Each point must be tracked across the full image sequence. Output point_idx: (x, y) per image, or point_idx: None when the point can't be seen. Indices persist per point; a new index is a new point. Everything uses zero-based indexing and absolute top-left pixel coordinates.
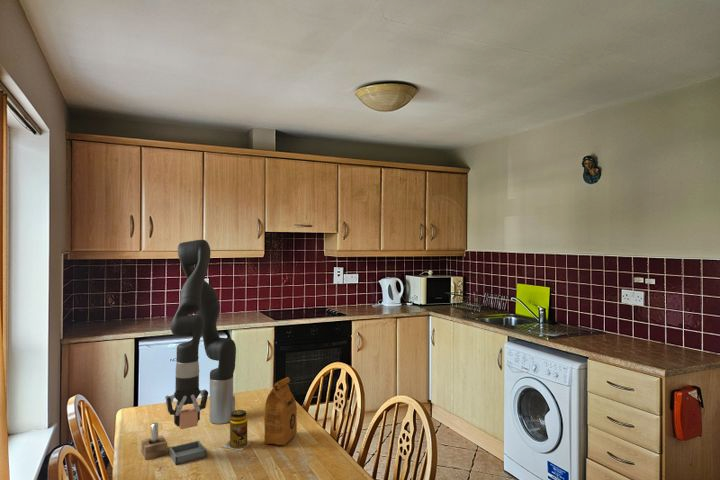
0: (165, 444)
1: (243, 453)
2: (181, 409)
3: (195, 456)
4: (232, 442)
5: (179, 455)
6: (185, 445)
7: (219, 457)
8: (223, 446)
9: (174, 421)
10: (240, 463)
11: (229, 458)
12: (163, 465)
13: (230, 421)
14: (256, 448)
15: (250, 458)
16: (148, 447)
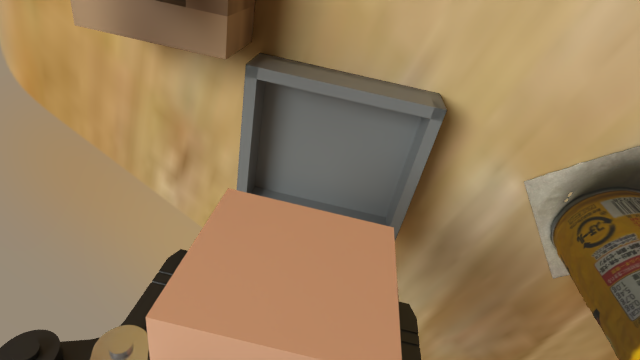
0: (216, 54)
1: (530, 299)
2: (207, 357)
3: None
4: (563, 253)
5: (290, 133)
6: (348, 97)
7: (432, 259)
8: (537, 188)
9: (164, 274)
10: (450, 340)
11: (453, 291)
12: (200, 151)
13: None
14: None
15: (507, 340)
16: (98, 29)
